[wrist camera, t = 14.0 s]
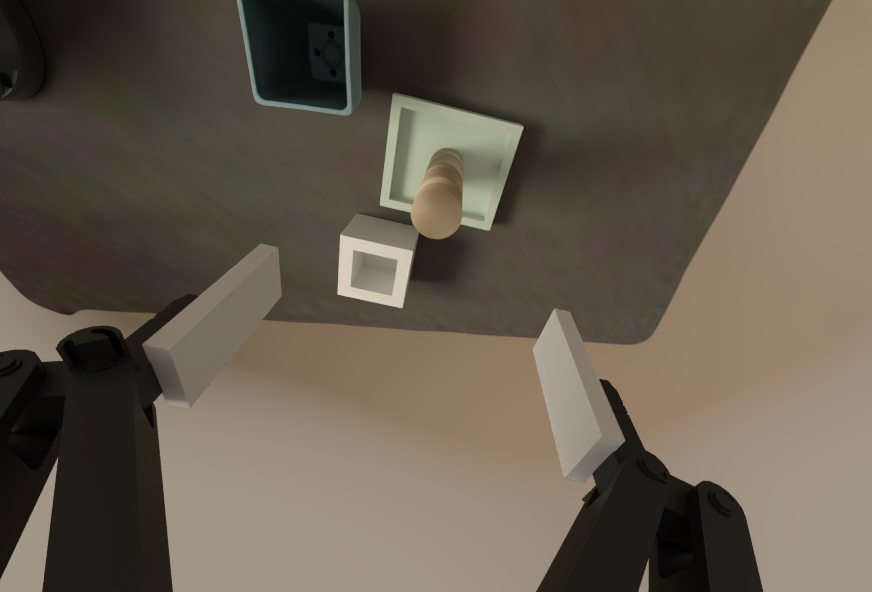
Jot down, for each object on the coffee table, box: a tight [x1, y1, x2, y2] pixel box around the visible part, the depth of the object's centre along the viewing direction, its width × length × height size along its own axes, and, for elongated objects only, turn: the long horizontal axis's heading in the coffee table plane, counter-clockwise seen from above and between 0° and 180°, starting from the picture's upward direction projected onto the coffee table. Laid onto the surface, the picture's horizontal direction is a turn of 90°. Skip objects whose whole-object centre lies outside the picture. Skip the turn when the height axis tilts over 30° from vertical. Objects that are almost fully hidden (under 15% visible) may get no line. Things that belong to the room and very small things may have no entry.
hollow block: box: [338, 213, 419, 308], centre depth 44 cm, size 9×9×7 cm
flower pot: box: [237, 0, 362, 116], centre depth 30 cm, size 9×9×9 cm
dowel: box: [411, 148, 463, 239], centre depth 32 cm, size 4×4×16 cm
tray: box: [380, 93, 524, 231], centre depth 38 cm, size 14×12×2 cm
